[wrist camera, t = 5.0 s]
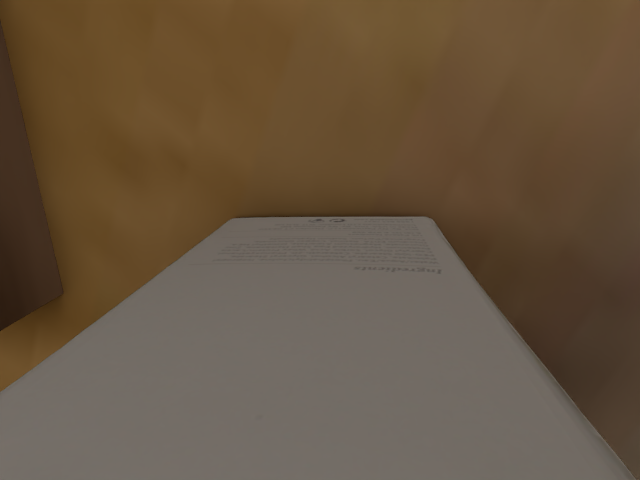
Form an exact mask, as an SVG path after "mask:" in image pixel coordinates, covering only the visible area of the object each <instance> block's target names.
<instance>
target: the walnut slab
mask: <svg viewBox="0 0 640 480" xmlns="http://www.w3.org/2000/svg"><path fill="white" fill-rule="evenodd" d="M61 294H63V289H62V285H61V280H60V276H59V272H58V267H57V263H56V259H55V254H54V250H53V246H52V241H51V237H50V233H49V228H48V224H47V220H46V216H45V211H44V207H43V203H42V198H41V194H40V190H39V185H38V181H37V177H36V172H35V168H34V164H33V159H32V155H31V151H30V147H29V142H28V138H27V134H26V129H25V125H24V121H23V116H22V112H21V108H20V103H19V99H18V95H17V90H16V86H15V82H14V77H13V73H12V69H11V65H10V60H9V56H8V52H7V47H6V43H5V39H4V34H3V30H2V26H1V21H0V331H1V330H2V329H4V328H6V327H7V326H9V325H11V324H12V323H14V322H16V321H17V320H19V319H21V318H23V317H24V316H26V315H28V314H29V313H31V312H33V311H34V310H36V309H38V308H39V307H41V306H43V305H44V304H46V303H48V302H50V301H51V300H53V299H55V298H56V297H58V296H60V295H61Z"/></svg>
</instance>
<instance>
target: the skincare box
mask: <svg viewBox="0 0 640 480" xmlns="http://www.w3.org/2000/svg"><path fill="white" fill-rule="evenodd" d="M0 480H636V479H635V477H634V476H633V475H632V474H631V472H630V471H629V470H628V468H627V467H626V466H625V465H624V463H623V462H622V461H621V459H620V458H619V457H618V456H617V454H616V453H615V452H614V451H613V450H612V448H611V447H610V446H609V445H608V444H607V442H606V441H605V440H604V439H603V438H602V436H601V435H600V434H599V433H598V432H597V430H596V429H595V428H594V427H593V426H592V424H591V423H590V422H589V421H588V419H587V418H586V417H585V416H584V415H583V413H582V412H581V411H580V410H579V409H578V407H577V406H576V405H575V403H574V402H573V401H572V399H571V398H570V397H569V395H568V394H567V393H566V392H565V391H564V389H563V388H562V387H561V386H560V384H559V383H558V382H557V381H556V379H555V378H554V377H553V376H552V374H551V373H550V372H549V370H548V369H547V368H546V367H545V366H544V364H543V363H542V362H541V361H540V359H539V358H538V357H537V356H536V355H535V353H534V352H533V351H532V350H531V348H530V347H529V346H528V345H527V343H526V342H525V341H524V340H523V339H522V337H521V336H520V335H519V334H518V332H517V331H516V330H515V329H514V327H513V326H512V325H511V324H510V322H509V321H508V320H507V319H506V317H505V316H504V315H503V314H502V312H501V311H500V310H499V309H498V307H497V306H496V305H495V304H494V302H493V301H492V300H491V298H490V297H489V296H488V295H487V293H486V292H485V291H484V290H483V288H482V287H481V286H480V285H479V283H478V282H477V281H476V279H475V278H474V276H473V275H472V274H471V273H470V272H469V270H468V269H467V268H466V266H465V264H464V263H463V262H462V260H461V259H460V258H459V257H458V255H457V254H456V252H455V251H454V249H453V248H452V246H451V245H450V244H449V242H448V241H447V240H446V239H445V237H444V236H443V234H442V232H441V230H440V229H439V228H438V226H437V225H436V223H435V222H434V220H432V219H431V218H428V217H265V218H261V217H254V218H233V219H231V220H229V221H227V222H226V223H225V224H224V225H222V226H221V227H220V228H219V229H217V230H216V231H215V232H213V233H212V234H211V235H209V236H208V237H207V238H205V239H204V240H202V241H201V242H200V243H199V244H197V245H196V246H195V247H193V248H192V249H191V250H189V251H188V252H187V253H186V254H184V255H183V256H182V257H180V258H179V259H178V260H176V261H175V262H174V263H172V264H171V265H169V266H168V267H167V268H166V269H164V270H163V271H162V272H160V273H159V274H158V275H156V276H155V277H154V278H153V279H151V280H150V281H149V282H147V283H146V284H145V285H143V286H142V287H141V288H139V289H138V290H137V291H135V292H134V293H133V294H131V295H130V296H129V297H127V298H126V299H125V300H124V301H122V302H121V303H120V304H118V305H117V306H116V307H114V308H113V309H112V310H110V311H109V312H108V313H106V314H105V315H104V316H103V317H101V318H100V319H99V320H97V321H96V322H94V323H93V324H92V325H90V326H89V327H88V328H86V329H85V330H83V331H82V332H81V333H80V334H78V335H77V336H76V337H74V338H73V339H72V340H71V341H69V342H68V343H67V344H65V345H64V346H63V347H62V348H60V349H59V350H58V351H56V352H55V353H53V354H52V355H50V356H49V357H47V358H46V359H45V360H44V361H42V362H41V363H40V364H38V365H37V366H36V367H34V368H33V369H32V370H30V371H29V372H27V373H26V374H25V375H23V376H22V377H21V378H19V379H18V380H16V381H15V382H14V383H12V384H11V385H10V386H8V387H7V388H5V389H4V390H3V391H1V392H0Z"/></svg>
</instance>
